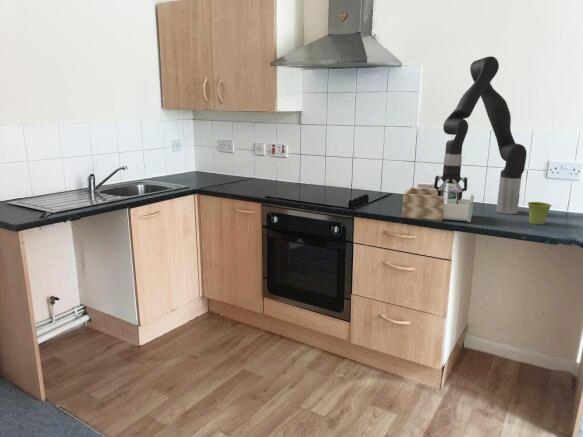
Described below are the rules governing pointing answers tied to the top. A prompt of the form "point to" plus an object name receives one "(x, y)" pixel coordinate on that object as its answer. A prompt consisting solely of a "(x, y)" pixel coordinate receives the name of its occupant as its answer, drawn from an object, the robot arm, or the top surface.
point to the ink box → (425, 185)
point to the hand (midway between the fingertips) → (449, 199)
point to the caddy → (423, 204)
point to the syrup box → (450, 193)
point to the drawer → (459, 210)
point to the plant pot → (538, 212)
